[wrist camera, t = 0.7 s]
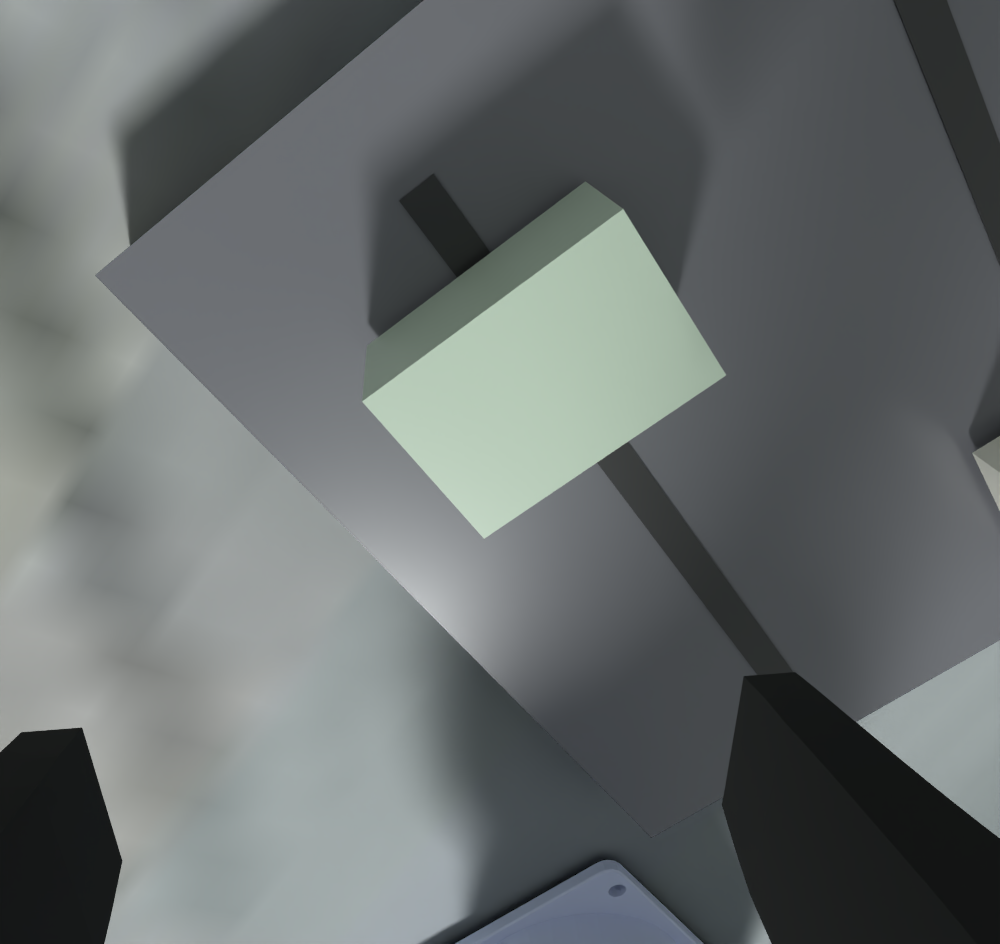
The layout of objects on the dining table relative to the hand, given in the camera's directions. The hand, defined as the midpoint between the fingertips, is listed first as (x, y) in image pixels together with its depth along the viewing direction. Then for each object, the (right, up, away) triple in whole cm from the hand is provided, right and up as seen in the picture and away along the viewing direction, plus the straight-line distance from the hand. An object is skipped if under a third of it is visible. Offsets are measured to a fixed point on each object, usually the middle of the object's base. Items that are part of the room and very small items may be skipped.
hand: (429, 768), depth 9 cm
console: (+6, +6, +8) cm, 12 cm away
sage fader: (+1, +6, +5) cm, 8 cm away
